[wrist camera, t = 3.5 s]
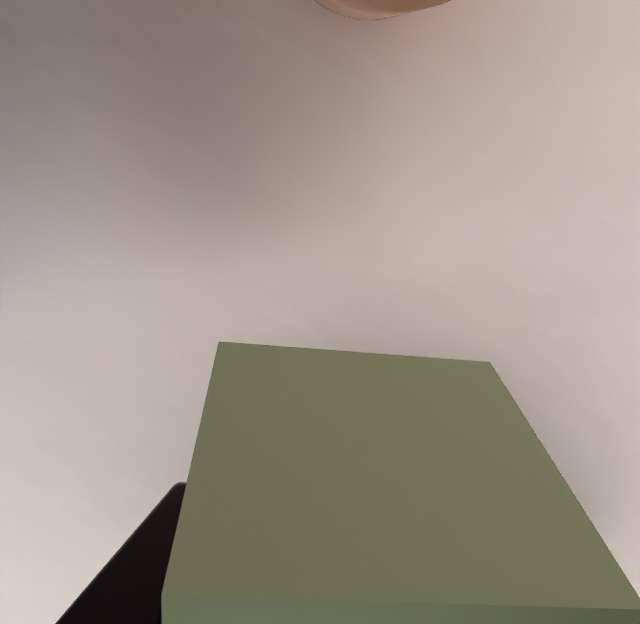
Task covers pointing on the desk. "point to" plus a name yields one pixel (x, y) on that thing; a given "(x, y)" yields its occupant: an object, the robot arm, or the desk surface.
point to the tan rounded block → (376, 7)
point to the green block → (379, 501)
